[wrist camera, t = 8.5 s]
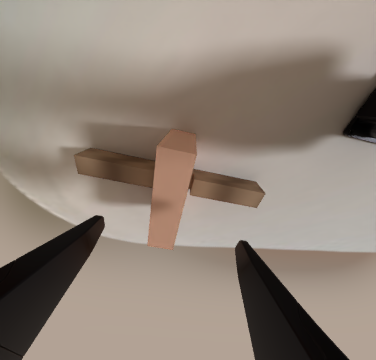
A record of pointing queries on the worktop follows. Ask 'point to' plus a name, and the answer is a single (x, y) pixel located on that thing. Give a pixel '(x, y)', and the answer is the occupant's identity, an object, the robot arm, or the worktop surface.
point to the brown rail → (144, 176)
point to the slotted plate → (170, 186)
